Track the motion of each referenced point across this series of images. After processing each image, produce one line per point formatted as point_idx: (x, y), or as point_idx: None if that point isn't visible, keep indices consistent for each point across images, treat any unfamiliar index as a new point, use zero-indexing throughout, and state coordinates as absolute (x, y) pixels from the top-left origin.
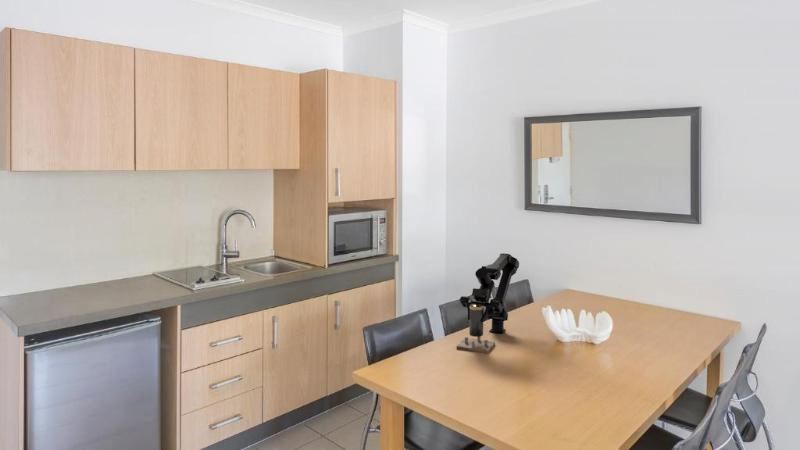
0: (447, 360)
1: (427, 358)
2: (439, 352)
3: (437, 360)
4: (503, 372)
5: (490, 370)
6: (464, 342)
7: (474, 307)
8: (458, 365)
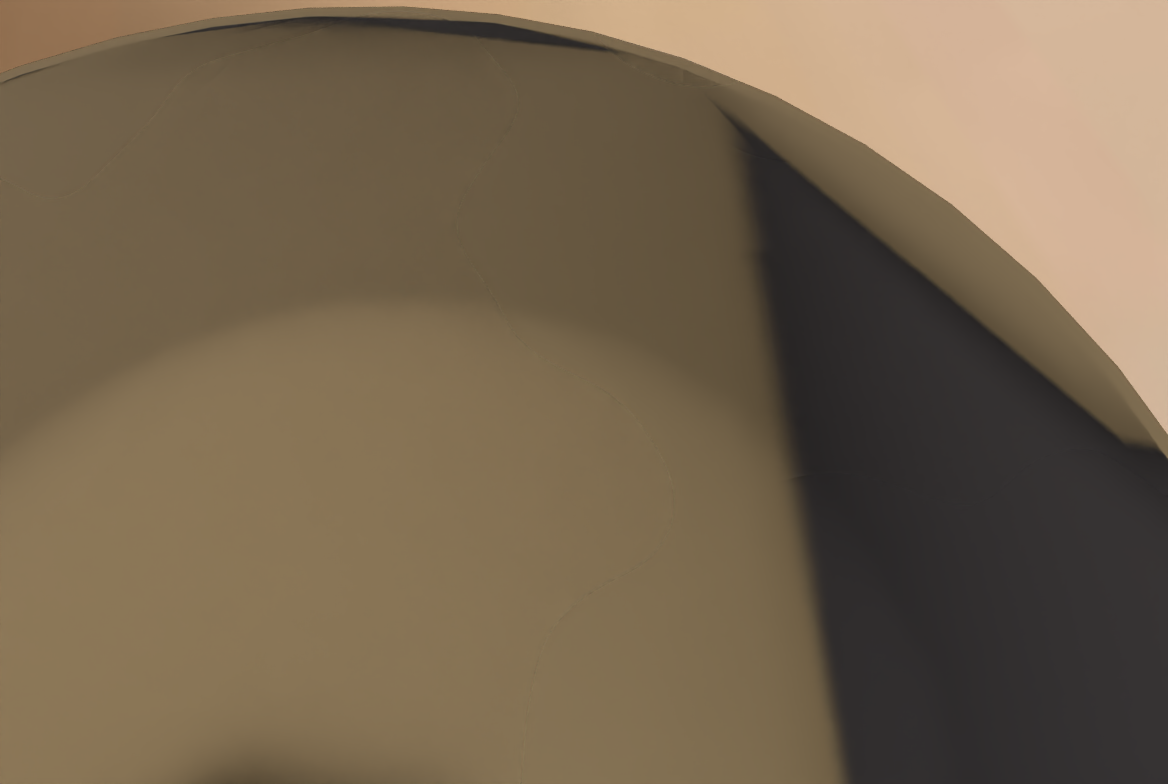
0: (818, 92)
1: (1111, 57)
2: (1092, 321)
3: (946, 47)
4: (21, 18)
5: (186, 14)
6: None
7: (393, 23)
8: (615, 7)
